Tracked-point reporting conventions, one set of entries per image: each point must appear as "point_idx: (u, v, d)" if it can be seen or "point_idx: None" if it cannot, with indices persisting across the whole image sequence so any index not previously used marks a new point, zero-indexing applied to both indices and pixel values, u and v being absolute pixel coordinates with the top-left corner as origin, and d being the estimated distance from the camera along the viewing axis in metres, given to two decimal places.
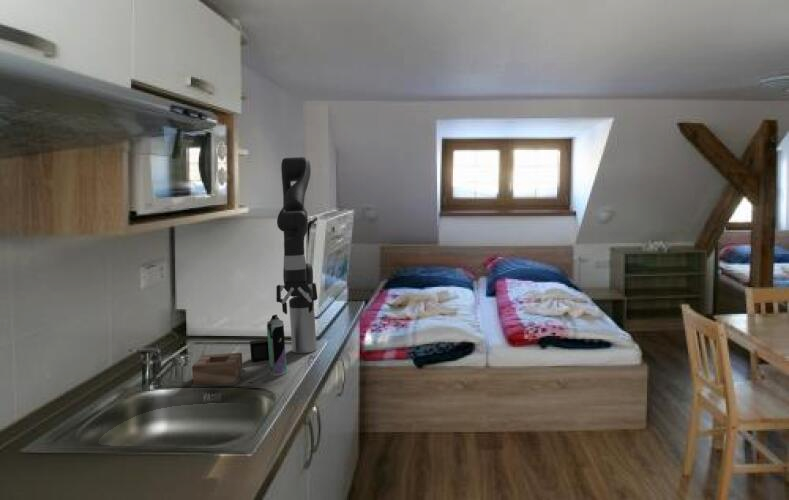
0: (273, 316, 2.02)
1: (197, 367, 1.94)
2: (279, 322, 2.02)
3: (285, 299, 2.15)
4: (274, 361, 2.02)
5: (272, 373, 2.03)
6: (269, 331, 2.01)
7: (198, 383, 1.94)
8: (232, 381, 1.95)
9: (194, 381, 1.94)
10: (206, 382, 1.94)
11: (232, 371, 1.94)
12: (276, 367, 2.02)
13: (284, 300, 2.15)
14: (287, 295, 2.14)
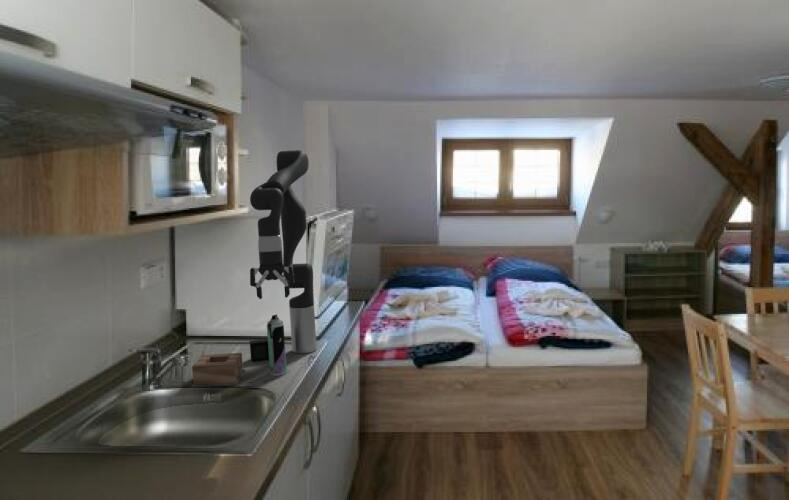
0: (273, 316, 2.02)
1: (197, 367, 1.94)
2: (279, 322, 2.02)
3: (259, 283, 2.00)
4: (274, 361, 2.02)
5: (272, 373, 2.03)
6: (269, 331, 2.01)
7: (198, 383, 1.94)
8: (232, 381, 1.95)
9: (194, 381, 1.94)
10: (206, 382, 1.94)
11: (232, 371, 1.94)
12: (276, 367, 2.02)
13: (258, 284, 2.00)
14: (261, 279, 2.00)
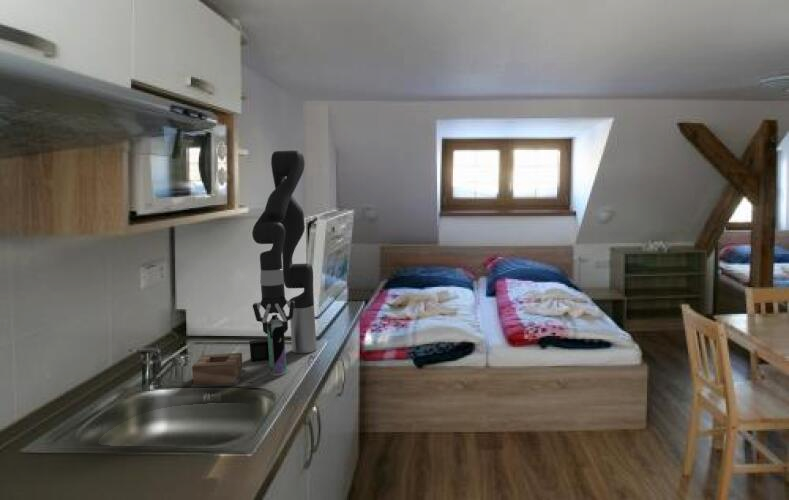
0: (273, 316, 2.02)
1: (197, 367, 1.94)
2: (279, 322, 2.02)
3: (265, 318, 2.01)
4: (274, 361, 2.02)
5: (272, 373, 2.03)
6: (269, 331, 2.01)
7: (198, 383, 1.94)
8: (232, 381, 1.95)
9: (194, 381, 1.94)
10: (206, 382, 1.94)
11: (232, 371, 1.94)
12: (276, 367, 2.02)
13: (264, 319, 2.02)
14: (266, 313, 2.01)
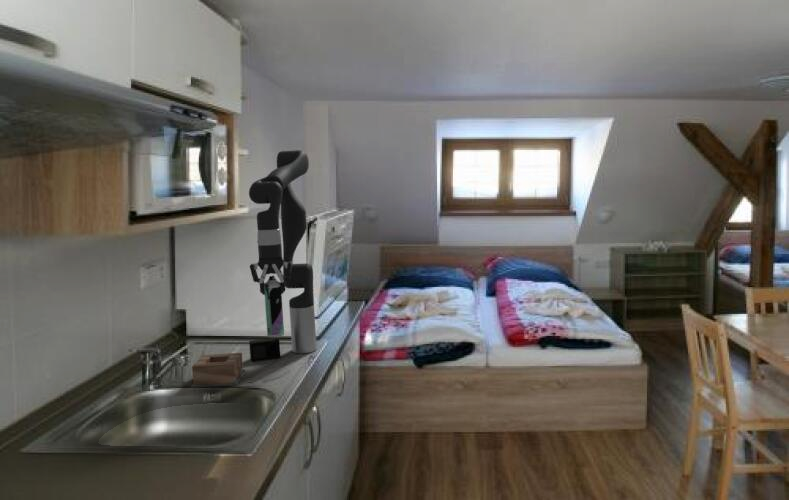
0: (270, 277, 2.00)
1: (197, 367, 1.94)
2: (276, 283, 2.00)
3: (262, 278, 2.00)
4: (271, 322, 2.00)
5: (269, 334, 2.01)
6: (266, 292, 2.00)
7: (198, 383, 1.94)
8: (232, 381, 1.95)
9: (194, 381, 1.94)
10: (206, 382, 1.94)
11: (232, 371, 1.94)
12: (274, 328, 2.00)
13: (262, 280, 2.00)
14: (263, 273, 1.99)
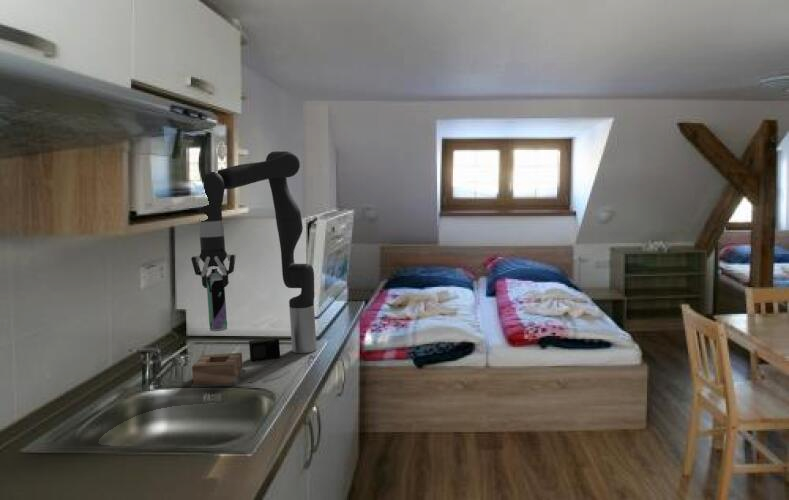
0: (213, 270, 1.96)
1: (197, 367, 1.94)
2: (219, 276, 1.96)
3: (204, 271, 1.96)
4: (213, 316, 1.96)
5: (211, 329, 1.97)
6: (208, 285, 1.95)
7: (198, 383, 1.94)
8: (232, 381, 1.95)
9: (194, 381, 1.94)
10: (206, 382, 1.94)
11: (232, 371, 1.94)
12: (216, 322, 1.96)
13: (204, 273, 1.96)
14: (205, 266, 1.95)
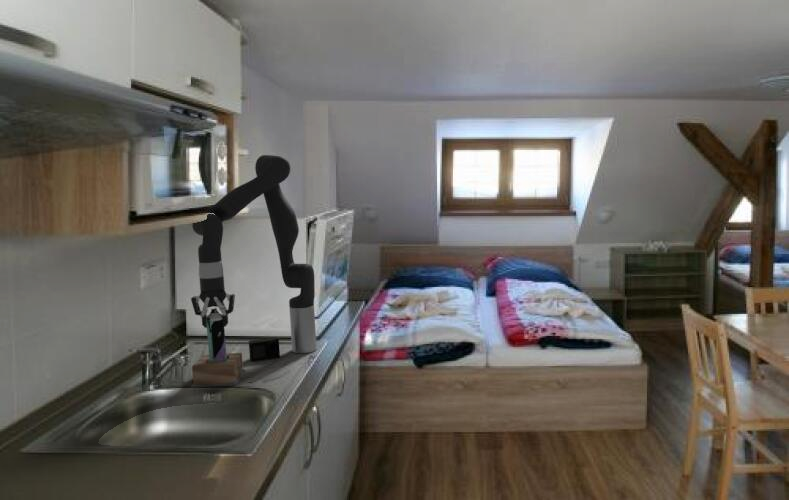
0: (212, 310, 1.98)
1: (197, 367, 1.94)
2: (218, 316, 1.97)
3: (204, 311, 1.97)
4: (213, 355, 1.97)
5: None
6: (208, 325, 1.97)
7: (198, 383, 1.94)
8: (232, 381, 1.95)
9: (194, 381, 1.94)
10: (206, 382, 1.94)
11: (232, 371, 1.94)
12: (216, 361, 1.98)
13: (203, 313, 1.97)
14: (204, 306, 1.97)
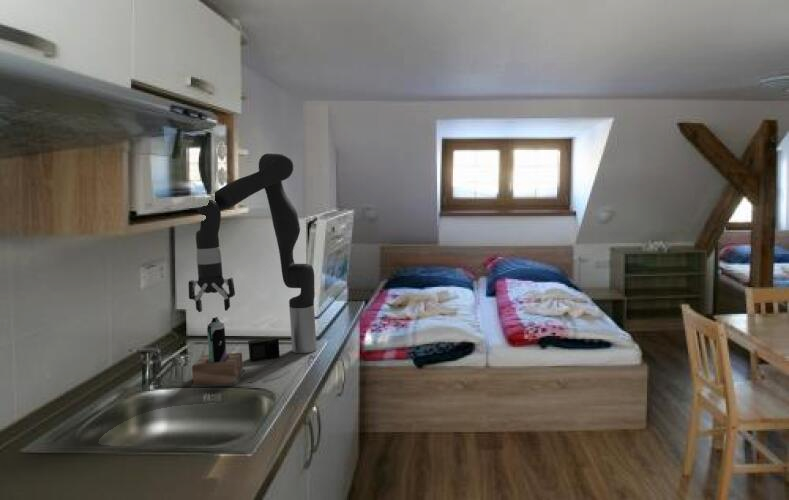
0: (213, 318, 1.98)
1: (197, 367, 1.94)
2: (219, 325, 1.98)
3: (198, 296, 1.97)
4: None
5: None
6: (209, 334, 1.97)
7: (198, 383, 1.94)
8: (232, 381, 1.95)
9: (194, 381, 1.94)
10: (206, 382, 1.94)
11: (232, 371, 1.94)
12: None
13: (197, 297, 1.97)
14: (200, 292, 1.96)
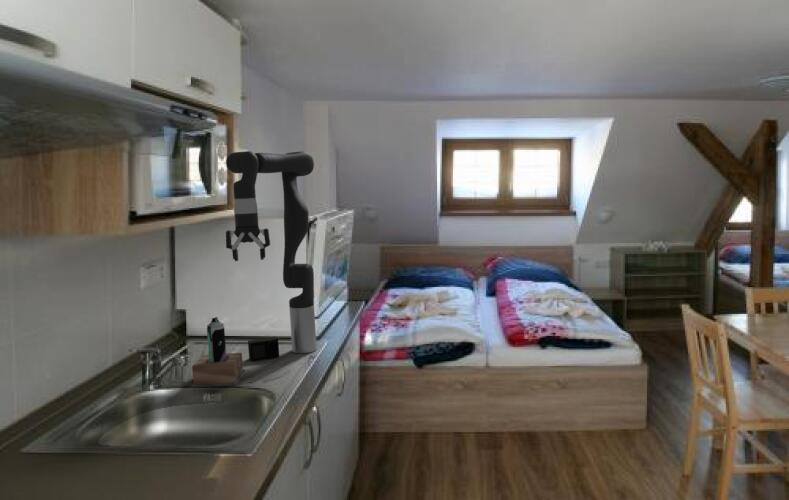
0: (213, 319, 1.98)
1: (197, 367, 1.94)
2: (219, 325, 1.98)
3: (235, 245, 2.03)
4: None
5: None
6: (209, 334, 1.97)
7: (198, 383, 1.94)
8: (232, 381, 1.95)
9: (194, 381, 1.94)
10: (206, 382, 1.94)
11: (232, 371, 1.94)
12: None
13: (234, 246, 2.03)
14: (237, 241, 2.03)
